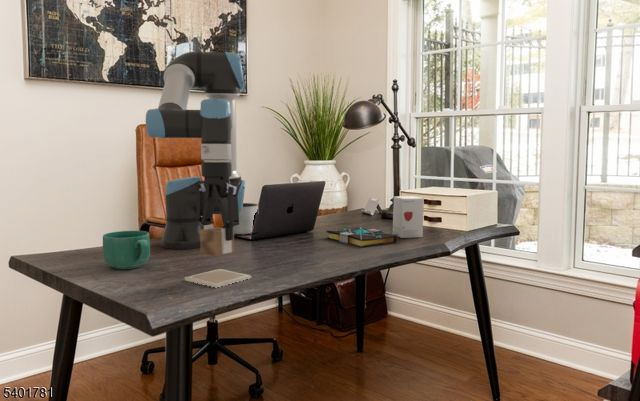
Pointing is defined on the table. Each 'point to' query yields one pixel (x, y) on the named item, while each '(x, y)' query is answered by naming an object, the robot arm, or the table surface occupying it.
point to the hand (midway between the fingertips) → (217, 251)
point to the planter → (246, 218)
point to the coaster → (217, 278)
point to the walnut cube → (212, 241)
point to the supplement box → (408, 216)
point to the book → (362, 236)
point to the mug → (126, 249)
